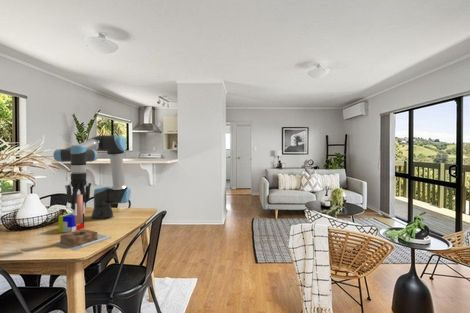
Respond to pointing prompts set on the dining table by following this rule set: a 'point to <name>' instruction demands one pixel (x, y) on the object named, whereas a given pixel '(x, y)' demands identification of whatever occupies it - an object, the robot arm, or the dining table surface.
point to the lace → (94, 241)
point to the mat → (83, 244)
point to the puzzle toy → (69, 223)
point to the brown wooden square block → (78, 237)
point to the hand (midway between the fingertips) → (78, 214)
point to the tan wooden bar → (79, 209)
